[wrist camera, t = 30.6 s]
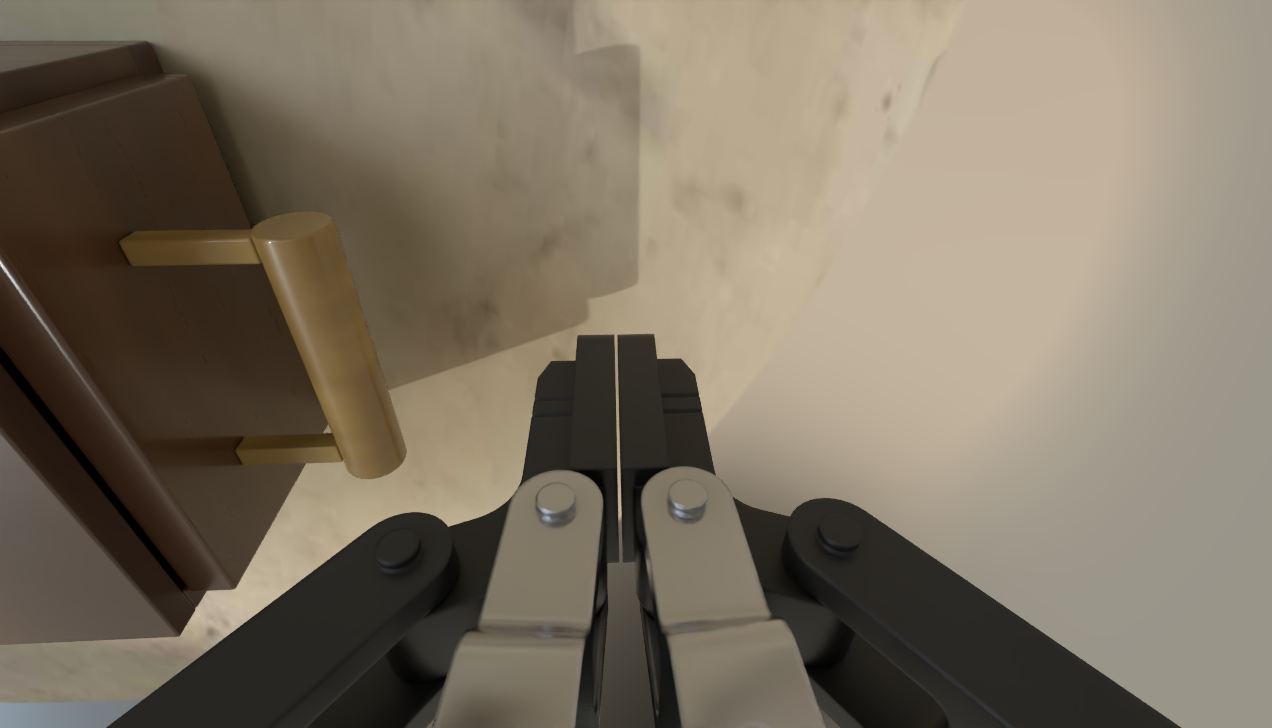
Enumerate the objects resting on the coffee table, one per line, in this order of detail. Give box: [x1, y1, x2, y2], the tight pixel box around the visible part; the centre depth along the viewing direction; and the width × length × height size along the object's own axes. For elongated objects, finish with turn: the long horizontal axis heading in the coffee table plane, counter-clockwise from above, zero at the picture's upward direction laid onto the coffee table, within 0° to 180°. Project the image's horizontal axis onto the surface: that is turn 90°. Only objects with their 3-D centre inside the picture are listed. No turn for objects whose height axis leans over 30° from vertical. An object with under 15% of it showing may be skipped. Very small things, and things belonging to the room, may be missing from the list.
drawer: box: [0, 74, 407, 591], centre depth 15 cm, size 18×11×7 cm, turn 90°
